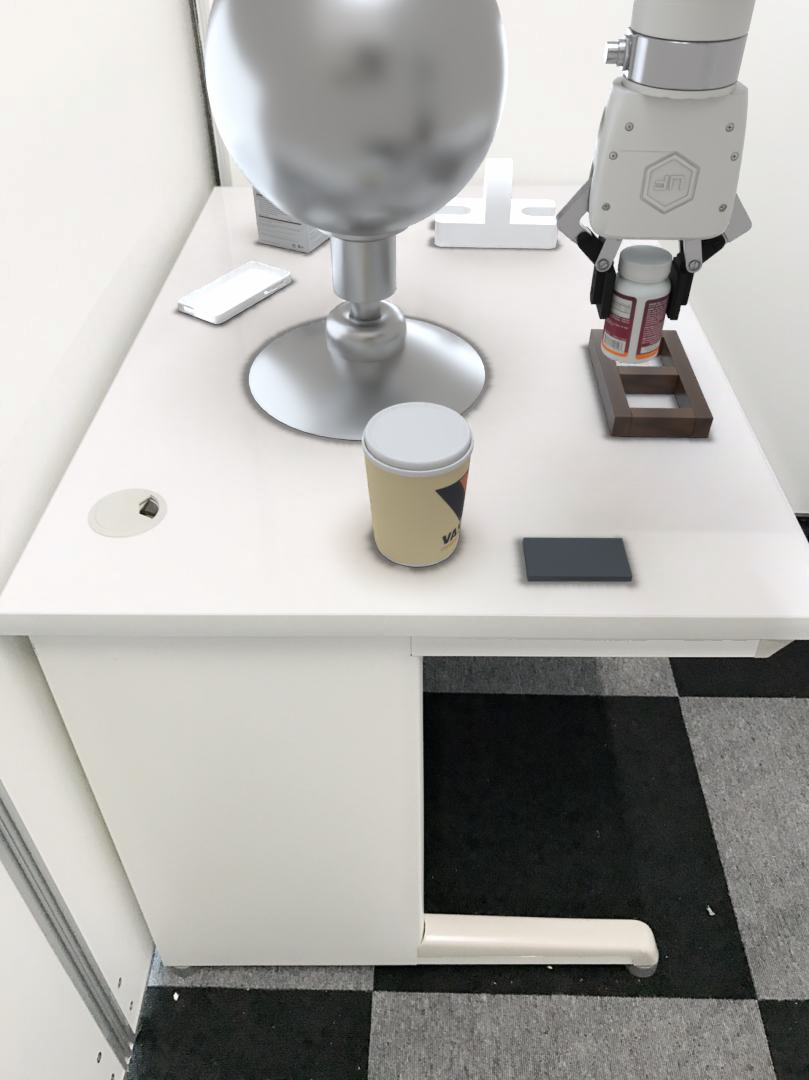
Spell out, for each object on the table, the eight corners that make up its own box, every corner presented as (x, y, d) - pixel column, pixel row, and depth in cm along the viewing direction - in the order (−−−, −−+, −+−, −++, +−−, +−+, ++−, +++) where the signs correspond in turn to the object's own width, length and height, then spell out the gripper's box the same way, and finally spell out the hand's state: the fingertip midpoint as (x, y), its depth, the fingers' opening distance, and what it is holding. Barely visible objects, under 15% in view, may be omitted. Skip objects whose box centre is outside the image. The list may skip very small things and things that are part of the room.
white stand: (435, 221, 132) (437, 148, 125) (551, 222, 132) (559, 150, 125) (434, 246, 125) (436, 171, 118) (556, 248, 125) (566, 173, 118)
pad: (621, 542, 78) (622, 537, 77) (631, 581, 74) (632, 576, 74) (522, 542, 78) (523, 537, 77) (528, 580, 74) (528, 575, 74)
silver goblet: (533, 372, 100) (590, -110, 69) (359, 473, 85) (334, -77, 55) (373, 294, 114) (362, -132, 84) (201, 370, 100) (113, -111, 69)
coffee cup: (461, 579, 74) (467, 470, 66) (356, 567, 75) (350, 458, 67) (472, 511, 81) (480, 404, 73) (376, 501, 82) (373, 395, 74)
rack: (671, 348, 104) (676, 329, 102) (708, 437, 90) (713, 417, 88) (587, 347, 104) (590, 328, 102) (611, 436, 90) (615, 416, 88)
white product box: (289, 221, 132) (280, 118, 122) (339, 232, 129) (334, 127, 119) (256, 243, 126) (243, 136, 116) (308, 254, 123) (299, 146, 113)
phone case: (253, 268, 120) (176, 310, 111) (252, 259, 119) (174, 300, 110) (293, 281, 117) (218, 325, 108) (292, 272, 116) (216, 316, 107)
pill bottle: (654, 338, 73) (674, 243, 67) (660, 367, 69) (681, 269, 64) (598, 335, 73) (613, 240, 68) (601, 364, 70) (617, 266, 64)
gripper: (559, 75, 54) (533, 333, 67) (829, 76, 54) (753, 336, 66) (550, 48, 60) (527, 290, 72) (794, 48, 59) (730, 292, 72)
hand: (636, 309), depth 69 cm, fingers closed on pill bottle, 4 cm apart
